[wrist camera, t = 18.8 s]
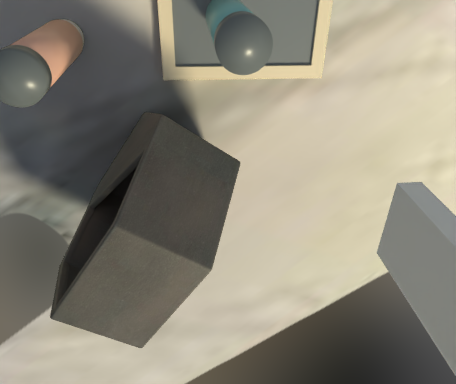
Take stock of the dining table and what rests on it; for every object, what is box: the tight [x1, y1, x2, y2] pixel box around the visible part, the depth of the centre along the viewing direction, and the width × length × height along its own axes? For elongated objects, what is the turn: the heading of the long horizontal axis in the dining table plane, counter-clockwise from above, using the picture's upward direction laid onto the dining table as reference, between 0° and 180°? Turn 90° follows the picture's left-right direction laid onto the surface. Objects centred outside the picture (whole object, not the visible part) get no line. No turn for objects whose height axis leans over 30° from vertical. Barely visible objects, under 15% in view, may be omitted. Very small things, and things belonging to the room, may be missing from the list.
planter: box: [50, 112, 240, 348], centre depth 35 cm, size 17×8×21 cm
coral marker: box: [0, 19, 84, 108], centre depth 29 cm, size 4×4×13 cm
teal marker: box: [206, 0, 273, 75], centre depth 29 cm, size 4×4×13 cm
